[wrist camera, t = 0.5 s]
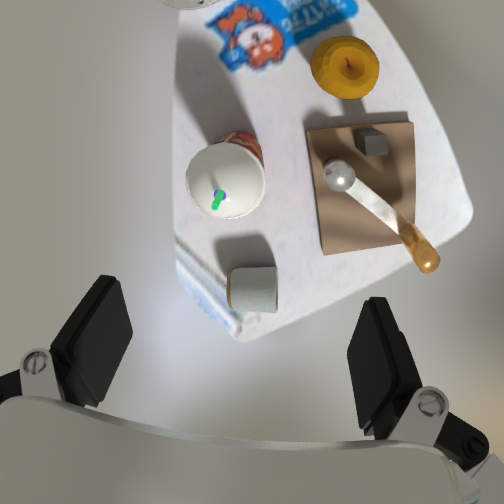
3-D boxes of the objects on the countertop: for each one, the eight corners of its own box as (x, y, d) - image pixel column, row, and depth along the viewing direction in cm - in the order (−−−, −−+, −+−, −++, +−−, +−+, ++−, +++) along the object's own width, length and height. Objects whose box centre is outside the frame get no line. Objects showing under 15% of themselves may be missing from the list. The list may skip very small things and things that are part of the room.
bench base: (305, 130, 40) (312, 139, 34) (409, 121, 37) (430, 129, 31) (322, 250, 50) (328, 275, 44) (410, 237, 47) (426, 259, 41)
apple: (340, 30, 31) (357, 18, 24) (378, 76, 34) (402, 76, 27) (293, 62, 35) (299, 57, 27) (333, 108, 38) (348, 115, 30)
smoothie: (204, 131, 41) (155, 170, 24) (262, 119, 39) (254, 149, 22) (217, 183, 45) (183, 255, 28) (272, 174, 44) (272, 243, 27)
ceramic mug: (228, 259, 52) (222, 288, 45) (277, 257, 51) (277, 286, 45) (236, 305, 58) (232, 335, 51) (279, 304, 57) (279, 334, 50)
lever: (316, 175, 39) (329, 203, 31) (335, 152, 37) (353, 174, 29) (402, 242, 43) (425, 279, 35) (418, 223, 41) (446, 258, 33)
